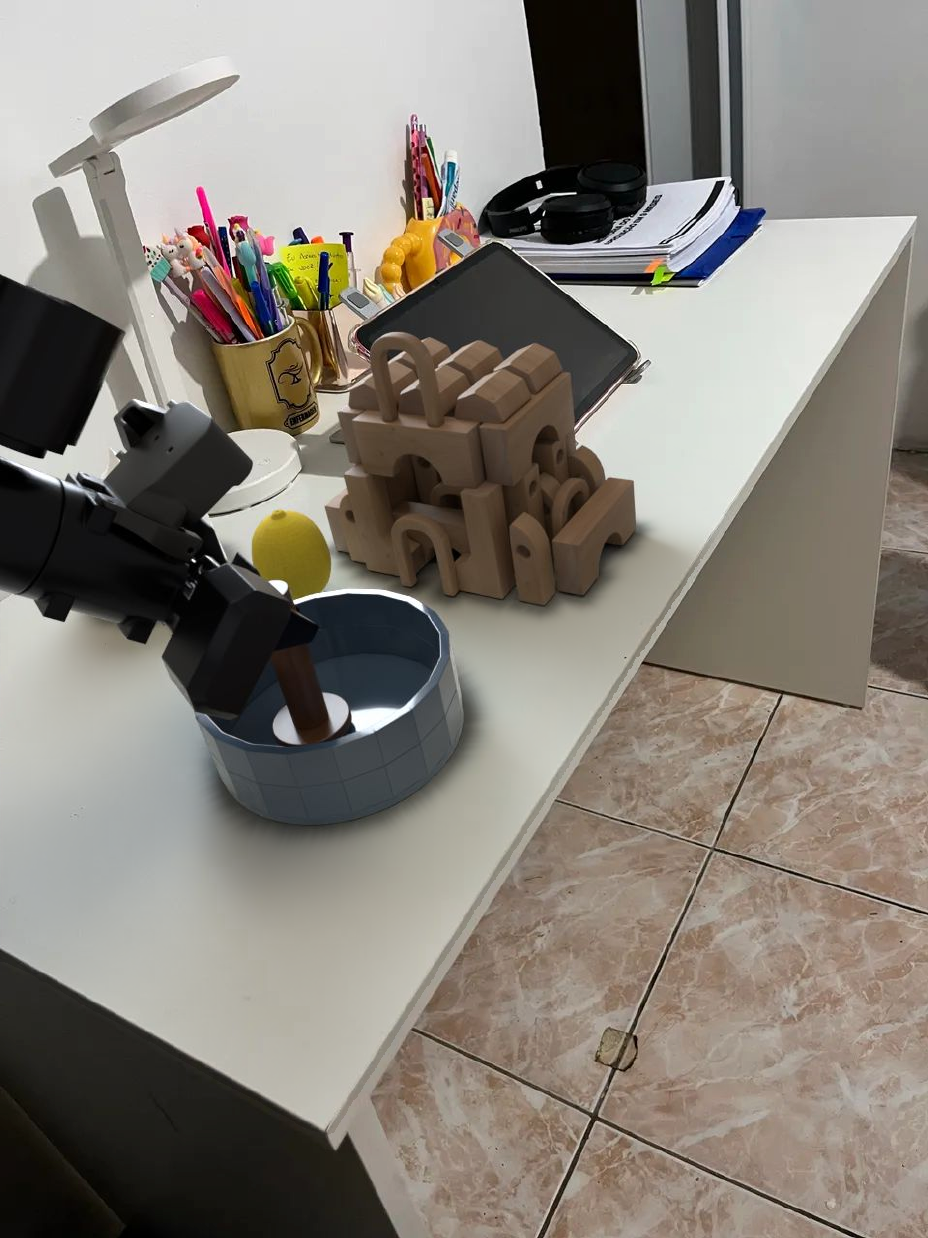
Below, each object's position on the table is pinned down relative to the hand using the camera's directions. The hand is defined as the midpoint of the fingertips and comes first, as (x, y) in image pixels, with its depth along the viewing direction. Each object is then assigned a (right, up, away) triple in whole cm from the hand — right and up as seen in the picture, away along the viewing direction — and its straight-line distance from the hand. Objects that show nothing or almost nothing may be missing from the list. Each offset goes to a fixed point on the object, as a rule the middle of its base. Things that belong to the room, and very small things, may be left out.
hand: (305, 624), depth 54 cm
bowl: (+2, -7, +4) cm, 8 cm away
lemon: (-3, +1, +17) cm, 17 cm away
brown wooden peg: (0, -6, +3) cm, 7 cm away
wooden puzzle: (+10, +6, +20) cm, 24 cm away
